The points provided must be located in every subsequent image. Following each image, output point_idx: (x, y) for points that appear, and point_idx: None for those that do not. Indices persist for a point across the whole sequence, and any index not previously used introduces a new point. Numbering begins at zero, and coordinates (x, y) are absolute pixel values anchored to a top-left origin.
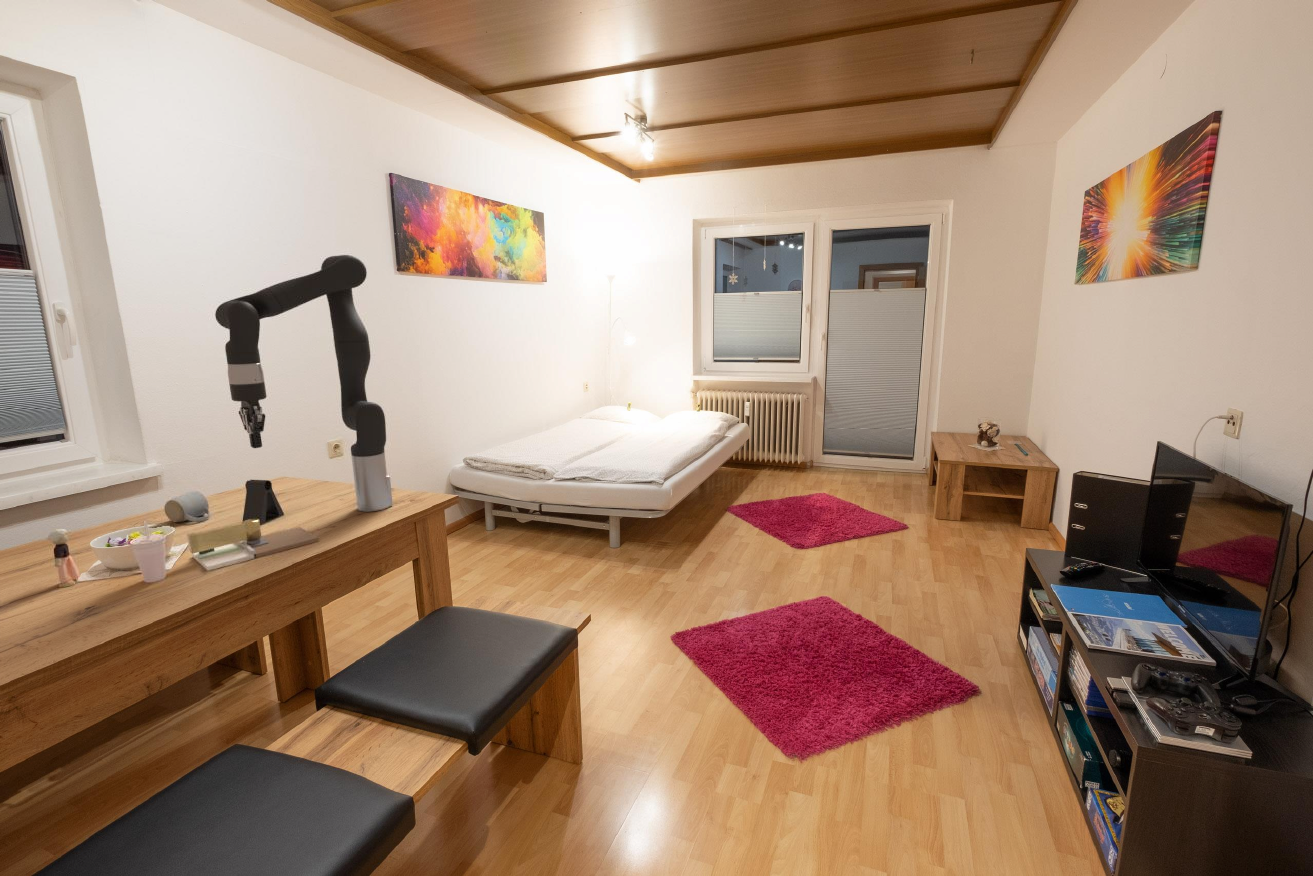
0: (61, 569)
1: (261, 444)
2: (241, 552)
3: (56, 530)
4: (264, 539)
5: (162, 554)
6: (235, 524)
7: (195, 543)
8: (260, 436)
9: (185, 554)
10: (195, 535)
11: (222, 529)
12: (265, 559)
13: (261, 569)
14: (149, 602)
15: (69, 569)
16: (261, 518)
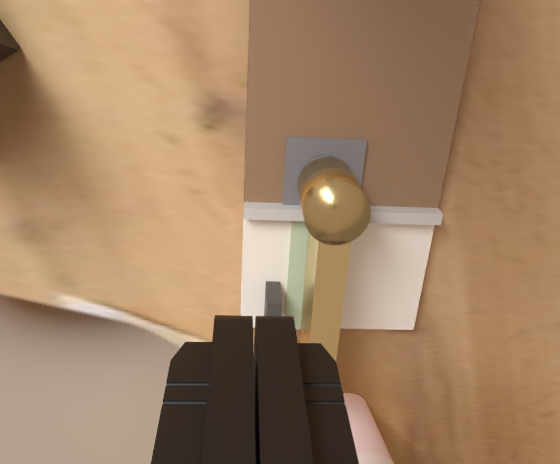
0: None
1: (293, 334)
2: (376, 232)
3: None
4: (302, 132)
5: (387, 451)
6: (329, 268)
7: None
8: (304, 425)
9: (192, 326)
10: None
11: (341, 311)
12: (476, 187)
13: (550, 225)
14: (492, 438)
15: None
16: (1, 43)
